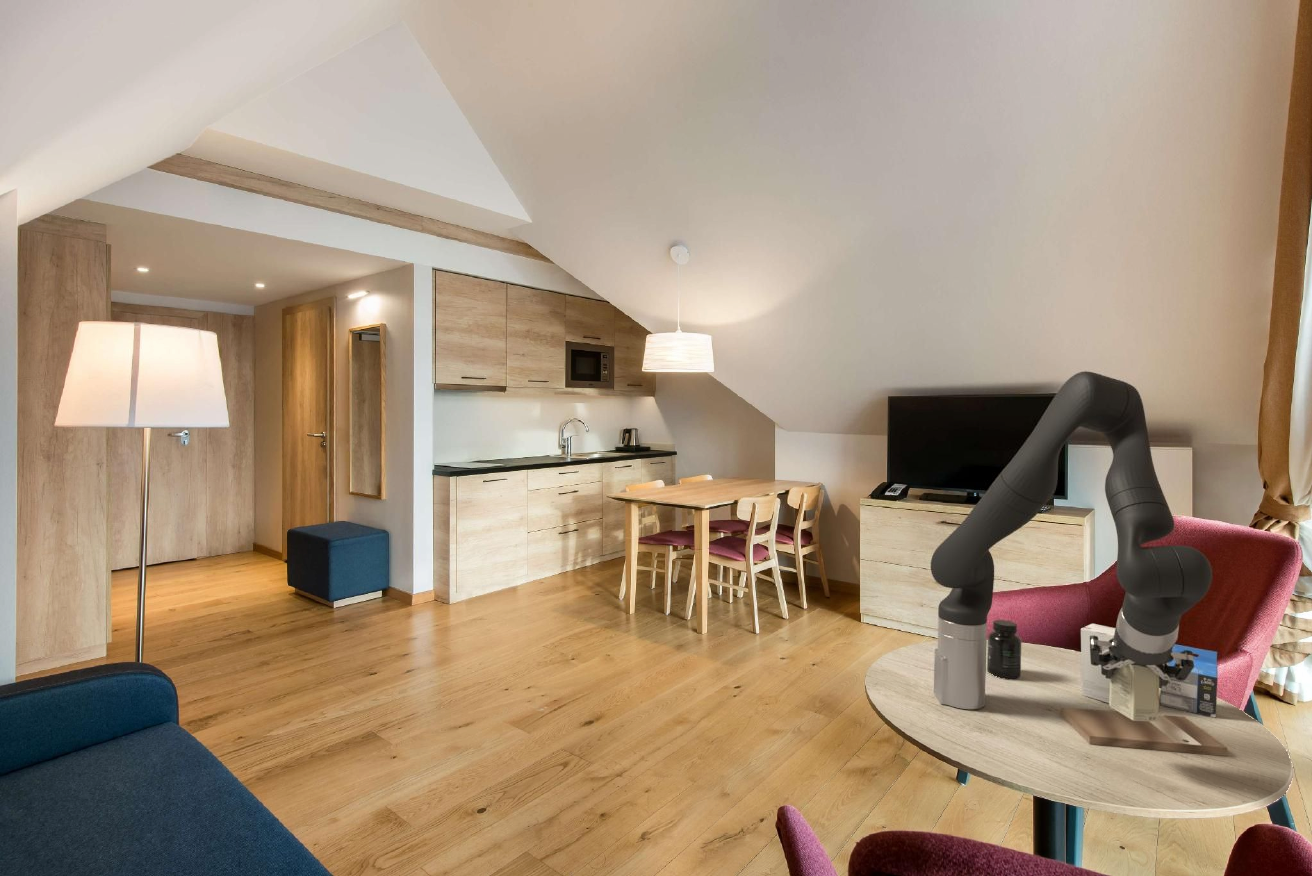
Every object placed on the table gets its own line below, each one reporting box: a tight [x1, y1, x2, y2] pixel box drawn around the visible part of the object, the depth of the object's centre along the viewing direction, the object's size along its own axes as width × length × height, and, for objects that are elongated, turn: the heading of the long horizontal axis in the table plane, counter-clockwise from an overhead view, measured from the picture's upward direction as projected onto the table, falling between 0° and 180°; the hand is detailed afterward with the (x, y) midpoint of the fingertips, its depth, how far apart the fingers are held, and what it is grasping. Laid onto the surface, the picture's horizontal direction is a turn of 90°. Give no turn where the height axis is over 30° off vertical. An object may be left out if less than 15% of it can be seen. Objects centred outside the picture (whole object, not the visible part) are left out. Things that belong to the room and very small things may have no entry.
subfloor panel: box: [1060, 706, 1228, 756], centre depth 122 cm, size 22×12×2 cm, turn 80°
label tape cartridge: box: [1159, 643, 1219, 718], centre depth 133 cm, size 9×4×12 cm, turn 51°
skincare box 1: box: [1080, 623, 1116, 704], centre depth 137 cm, size 8×6×15 cm
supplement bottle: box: [986, 619, 1022, 680], centre depth 150 cm, size 7×7×12 cm
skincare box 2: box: [1108, 638, 1160, 722], centre depth 111 cm, size 6×4×12 cm
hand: (1132, 678), depth 112 cm, fingers closed on skincare box 2, 6 cm apart
